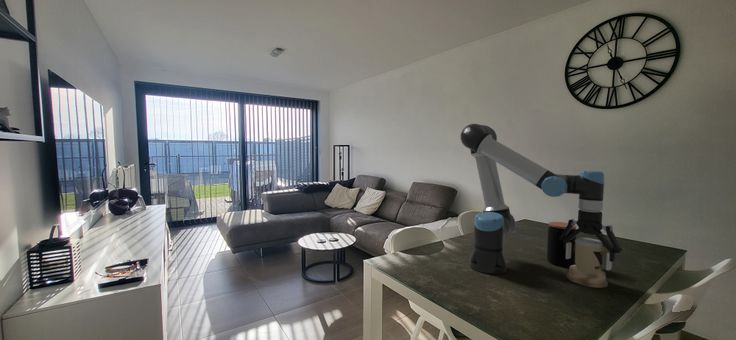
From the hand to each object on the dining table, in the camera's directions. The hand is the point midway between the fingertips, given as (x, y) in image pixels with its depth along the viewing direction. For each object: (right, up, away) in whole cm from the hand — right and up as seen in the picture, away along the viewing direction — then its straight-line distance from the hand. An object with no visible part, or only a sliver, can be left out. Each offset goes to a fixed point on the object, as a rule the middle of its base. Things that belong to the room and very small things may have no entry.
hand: (587, 263), depth 115 cm
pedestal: (0, -7, 0) cm, 7 cm away
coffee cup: (0, -3, 0) cm, 3 cm away
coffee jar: (+2, -6, +19) cm, 20 cm away
